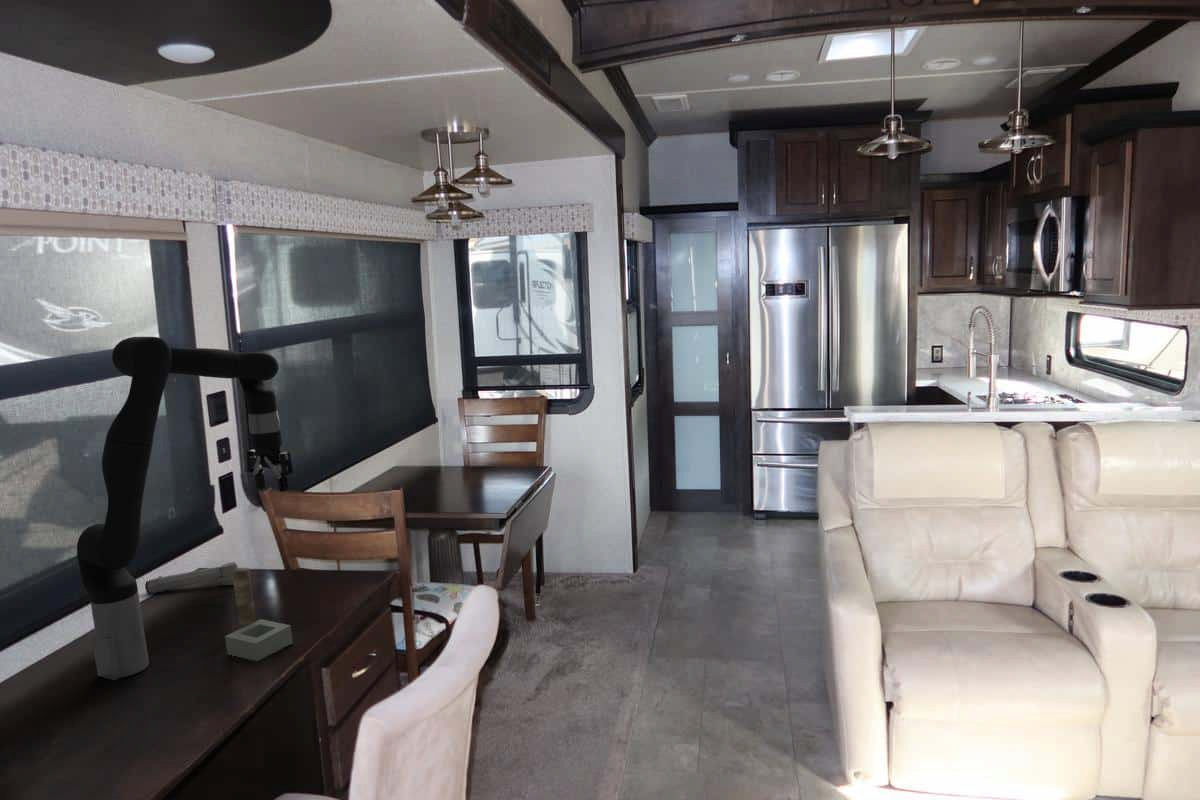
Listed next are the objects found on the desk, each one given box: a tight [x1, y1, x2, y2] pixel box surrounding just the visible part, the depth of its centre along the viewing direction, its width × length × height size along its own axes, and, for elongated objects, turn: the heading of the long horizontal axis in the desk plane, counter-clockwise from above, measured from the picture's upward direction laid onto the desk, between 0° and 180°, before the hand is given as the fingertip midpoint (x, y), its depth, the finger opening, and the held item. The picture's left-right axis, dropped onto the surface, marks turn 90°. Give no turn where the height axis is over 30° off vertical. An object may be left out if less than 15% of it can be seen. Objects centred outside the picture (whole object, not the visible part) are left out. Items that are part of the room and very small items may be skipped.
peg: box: [232, 567, 257, 630], centre depth 205 cm, size 4×4×16 cm
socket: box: [224, 619, 294, 661], centre depth 197 cm, size 10×10×4 cm
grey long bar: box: [144, 561, 239, 595], centre depth 239 cm, size 5×7×25 cm
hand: (272, 489), depth 225 cm, fingers open, 8 cm apart
